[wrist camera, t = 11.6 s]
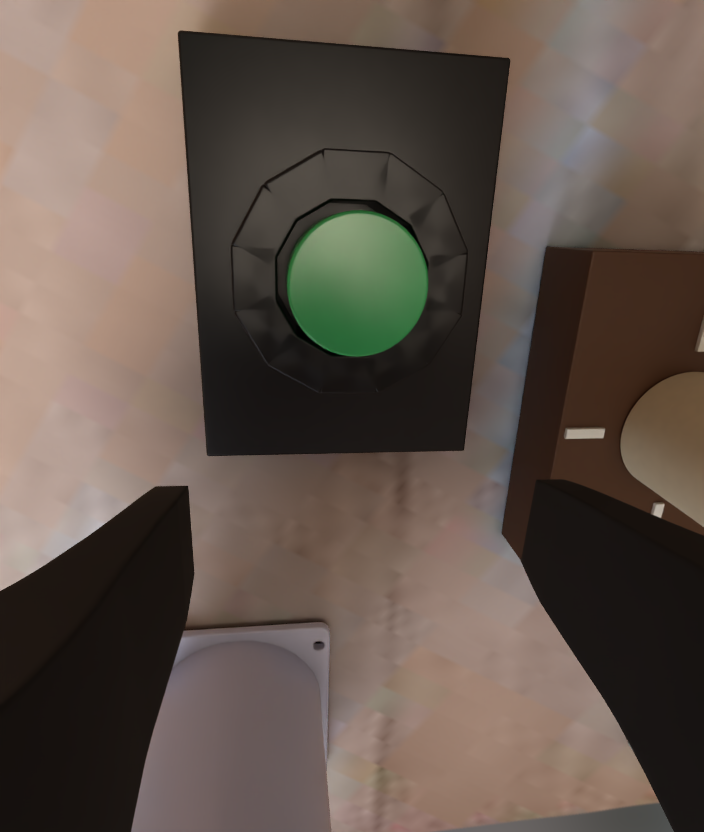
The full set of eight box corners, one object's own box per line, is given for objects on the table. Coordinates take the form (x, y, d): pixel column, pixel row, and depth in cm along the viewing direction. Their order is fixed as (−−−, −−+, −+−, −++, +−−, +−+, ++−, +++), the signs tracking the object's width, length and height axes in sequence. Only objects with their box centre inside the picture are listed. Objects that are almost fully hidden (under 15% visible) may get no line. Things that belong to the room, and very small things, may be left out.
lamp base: (446, 428, 20) (482, 473, 17) (214, 432, 19) (198, 481, 16) (482, 78, 16) (542, 35, 13) (191, 55, 15) (161, 0, 11)
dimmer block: (686, 525, 24) (743, 567, 21) (500, 533, 23) (533, 579, 20) (767, 253, 20) (852, 259, 17) (545, 246, 18) (596, 250, 16)
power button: (408, 343, 15) (423, 357, 14) (286, 342, 15) (287, 357, 13) (417, 214, 14) (435, 212, 12) (285, 208, 14) (286, 206, 12)
